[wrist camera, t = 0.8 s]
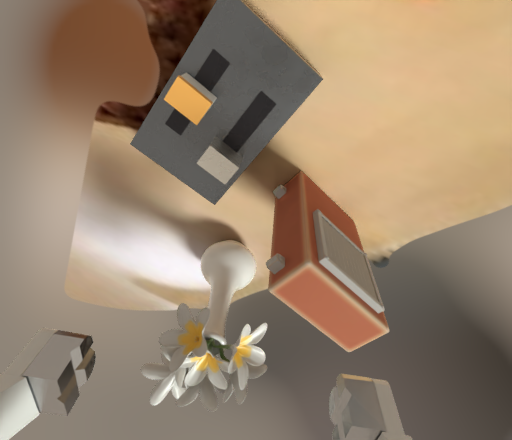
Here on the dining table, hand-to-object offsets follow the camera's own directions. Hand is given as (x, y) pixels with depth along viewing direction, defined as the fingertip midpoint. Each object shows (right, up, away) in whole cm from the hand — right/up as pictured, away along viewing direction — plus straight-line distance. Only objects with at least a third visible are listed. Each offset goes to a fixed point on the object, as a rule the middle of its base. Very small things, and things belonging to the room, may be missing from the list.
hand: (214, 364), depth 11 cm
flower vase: (-3, -2, +47) cm, 47 cm away
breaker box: (-3, +20, +33) cm, 39 cm away
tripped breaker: (-6, +20, +29) cm, 35 cm away
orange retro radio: (+11, +7, +40) cm, 42 cm away
